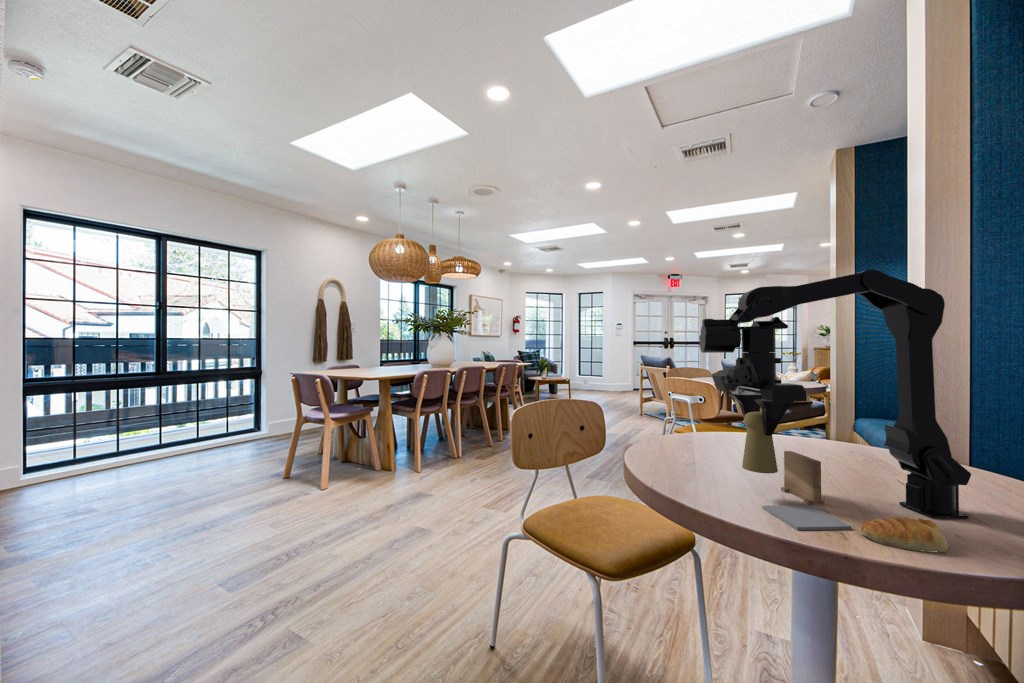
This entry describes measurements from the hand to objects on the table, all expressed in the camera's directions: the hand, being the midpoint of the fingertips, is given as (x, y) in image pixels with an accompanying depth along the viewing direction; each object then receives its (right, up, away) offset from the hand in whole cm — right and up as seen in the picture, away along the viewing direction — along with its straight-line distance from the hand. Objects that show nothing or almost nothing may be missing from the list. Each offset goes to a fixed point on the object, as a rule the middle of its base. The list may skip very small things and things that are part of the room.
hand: (759, 432), depth 81 cm
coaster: (+2, -13, -9) cm, 16 cm away
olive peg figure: (0, -7, 0) cm, 7 cm away
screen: (+9, -13, +1) cm, 16 cm away
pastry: (+11, -13, -18) cm, 25 cm away
